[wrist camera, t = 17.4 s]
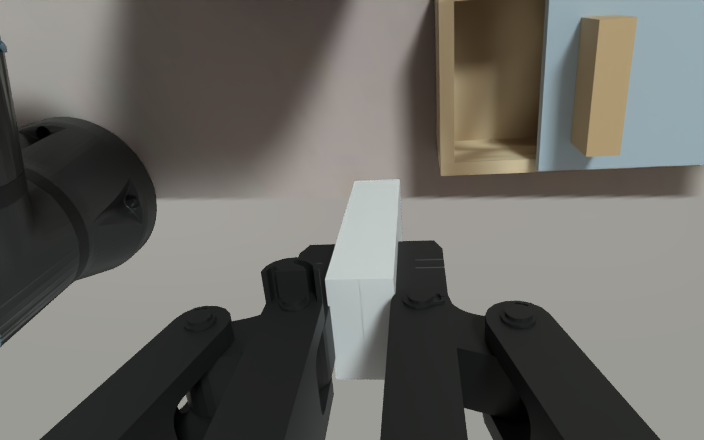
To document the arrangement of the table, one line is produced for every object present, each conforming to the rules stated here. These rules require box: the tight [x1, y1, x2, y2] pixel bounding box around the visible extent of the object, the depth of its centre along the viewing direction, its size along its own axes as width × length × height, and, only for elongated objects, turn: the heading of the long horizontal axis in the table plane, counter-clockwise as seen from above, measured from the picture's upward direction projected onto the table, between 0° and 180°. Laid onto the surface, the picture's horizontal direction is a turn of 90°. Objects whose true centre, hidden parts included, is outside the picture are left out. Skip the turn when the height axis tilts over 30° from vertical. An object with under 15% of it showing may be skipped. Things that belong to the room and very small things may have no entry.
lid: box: [535, 0, 704, 171], centre depth 32 cm, size 17×12×4 cm
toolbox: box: [434, 0, 700, 176], centre depth 38 cm, size 25×13×7 cm, turn 95°
